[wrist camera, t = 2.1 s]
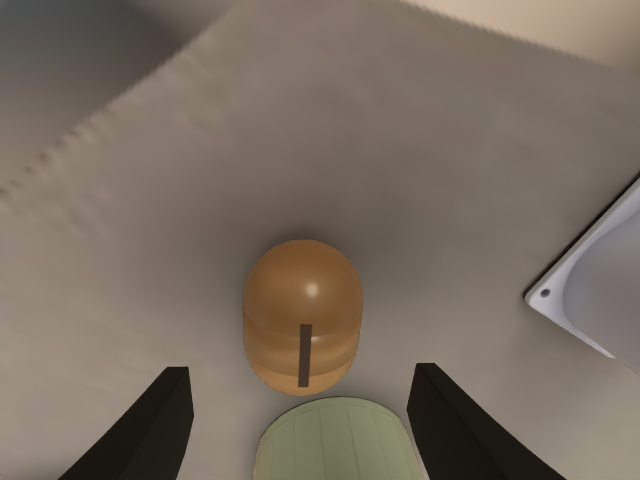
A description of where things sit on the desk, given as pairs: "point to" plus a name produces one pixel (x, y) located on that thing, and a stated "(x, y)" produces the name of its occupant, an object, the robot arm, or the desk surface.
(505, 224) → the desk surface
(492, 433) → the robot arm
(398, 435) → the cup
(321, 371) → the bean
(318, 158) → the desk surface
